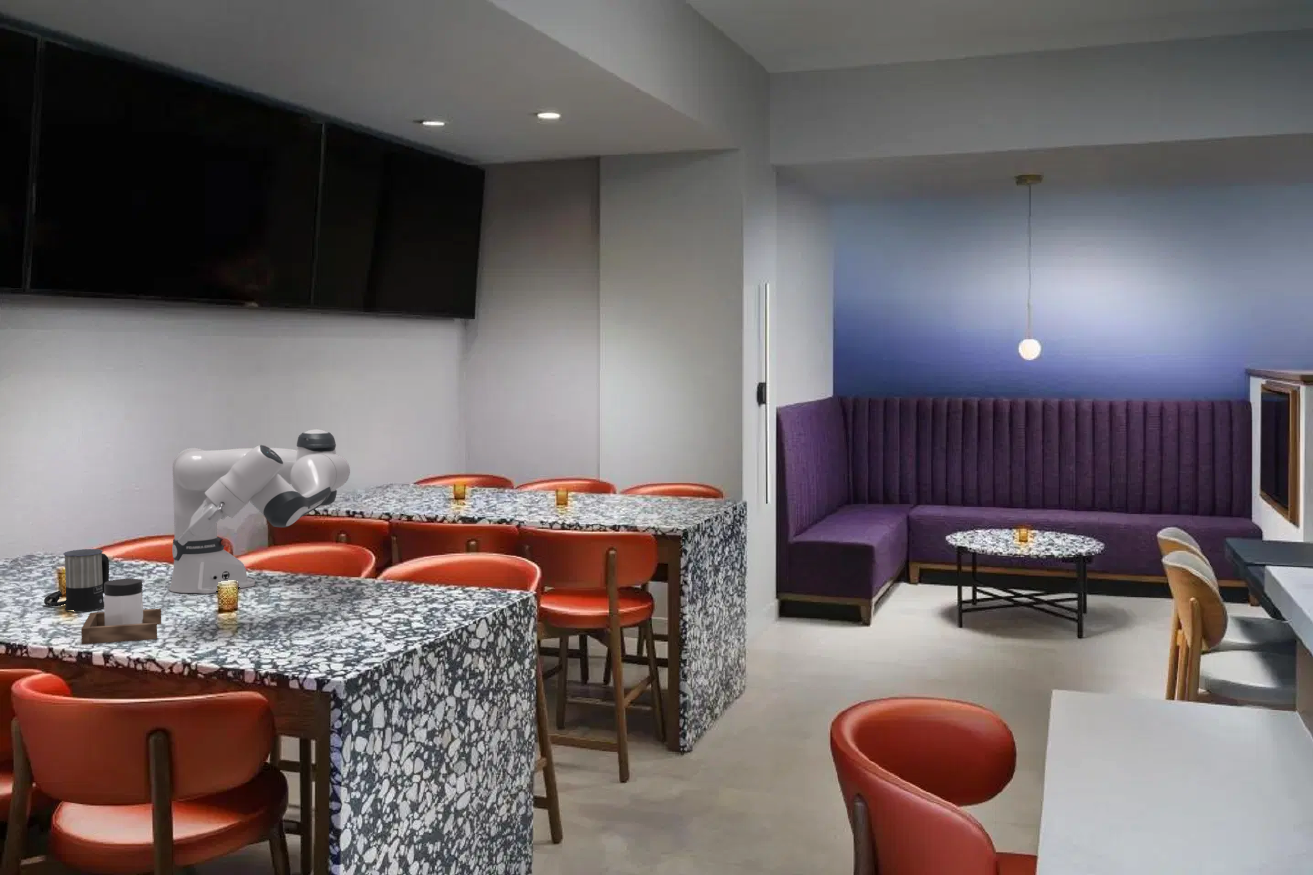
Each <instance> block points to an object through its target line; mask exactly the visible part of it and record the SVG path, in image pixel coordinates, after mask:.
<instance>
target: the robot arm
mask: <svg viewBox="0 0 1313 875" xmlns="http://www.w3.org/2000/svg"><path fill="white" fill-rule="evenodd" d="M336 446H337V444H336V440H335V437H334V435H333V434H331V432H328V431H326V430H323V429H318V428H317V429H316V428H314V429H309V430H307V431H303V432H302V433H300V435H298V437H297V441H296V447H297V449H292V448H284V447H268V446H266V445H262V444H259V445H257V446H255V447H249V448H247V447H244V448H243V447H242V448H232V449H217V450H216V449H215V450H204V449H203V448H199V447H190V448H189V447H188V448H186V449H183V450H182V451H180V452H179V453H178V454H177V455H176V457H175V458H174V460H173V462H172V487H173V488H172V491H173V521H174V522H173V524H174V526H173V530H174V531H173V532H174V536H173V537H174V538H173V540H172V559H173V568H172V578H171V580H170V581H171V582H170V586H169V588H168V590H169V591H170V592H172V593H178V594H179V593H182V594H203V595H204V594H207V595H208V594H214V593H217V592H216V590H217V585H218V582H221V581H228V580H236V581H238V583H239V586H240V588H239V589H244V588H249V587H254V586H256V581H255V579H253V578H251V577H249V576H247V569H246V566H245V564H244V562H242V561H241V560H240V559H239V558H237V557H235V556H234V555H233V554H231V553H230V552H228V551H227V550H225V549H224V548H225V547H230V545H231V540H229V539H226V538H222V537H219V536H218V524H217V523H218V522H219V521H220V519H221V520H225V519H226V517H230V518H231V519H233V518H235V516H237V514H239V513H240V512H241V510H242V509H244V508H245V507H246V506H247V505H248V504H249V502H250V503H251V504H252V505H253V506H254V507H255V508H256V509H257V511H259V512H260V513H261V515H263V516H264V518H265V520H267V521H268V522H269V524H270V525H271V526H272V527H275V528H288V527H290V526H291V525H293V524H294V523H295V522H297V521H298V520H299V519H301V518H302V517H304V516H306V515H307V514H309V513H311V512H313V511H314V510H315V509H319V508H324V507H327V506H329V505H332V504H333V503H334V502H336V499H337V498H336V497H337V493H338V490H337V489H339V488H341V487H342V486H344V485H345V483H347V482H348V481H349V478H350V475H351V468H350V465H349V463H348V461H347V460H346V459H345V458H344V456H341V455H340V454H337V452H336V451H337V450H336Z"/></svg>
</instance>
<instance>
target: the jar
mask: <svg viewBox="0 0 1313 875" xmlns="http://www.w3.org/2000/svg"><path fill="white" fill-rule="evenodd" d="M143 586H144V585H143V580H141V579H139V578H118V579H112V580H109V581H107V582H105V583H104V593H103V599H104V608H103V609H104V610H103V612H104V615H105V626H111V625H126V624H141V623H143V610H144V602H143Z"/></svg>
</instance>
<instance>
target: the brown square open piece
mask: <svg viewBox="0 0 1313 875" xmlns="http://www.w3.org/2000/svg"><path fill="white" fill-rule="evenodd" d="M161 624H162V608H149V609H148V608H147V609H145V608H144V609H143V623H141V624H126V625H111V626H105V615H104V611H101V612H99V611H98V612H90V613H89V615H88V616H87V618H86V620H85V622H84V623H83V625H82V627H81V631H80V632H81V633H80V634H81V645H89V644H91V645H92V644H104V642H106V643H117V642H119V643H121V642H130V641H131V642H132V641H143V640H144V641H147V640H157V639H158V625H161Z"/></svg>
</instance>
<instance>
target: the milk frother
mask: <svg viewBox="0 0 1313 875" xmlns="http://www.w3.org/2000/svg"><path fill="white" fill-rule="evenodd" d="M103 552H104V551H103V550H102V549H99V548H85V549H73V550H68V551H65V552H63V553H62V555H64V574H65V575H64V576H65V589H66V594H65V600H62V601H59V600H60V598H61V597H62V596H63V595H62V594H61V592H60V590H58V591H54V592H52V593H50V594H48V595H47V596H46V597H45V598H44V600H43V602H44V603H43V604H44V605H46V606H48V607H62V606H61V605H63V606H65V607H64V611H66V610H74V611H87V612H93V611H92V610H94V611H98V610H101V609H104V583H105V582H107V581H110V560H109V557H108V555H107V554H105V553H103ZM64 604H66V605H64Z"/></svg>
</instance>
